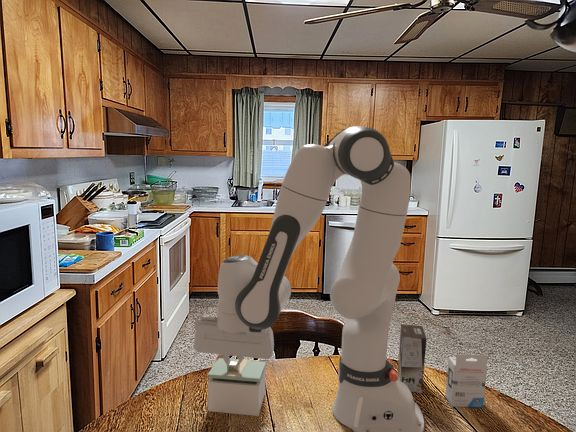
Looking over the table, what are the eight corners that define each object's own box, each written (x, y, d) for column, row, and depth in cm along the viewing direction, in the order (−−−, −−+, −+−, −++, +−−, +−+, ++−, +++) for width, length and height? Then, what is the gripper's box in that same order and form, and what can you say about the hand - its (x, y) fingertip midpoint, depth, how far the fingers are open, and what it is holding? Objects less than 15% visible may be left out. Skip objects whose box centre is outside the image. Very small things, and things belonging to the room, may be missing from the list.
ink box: (475, 396, 110) (480, 346, 108) (483, 407, 106) (489, 355, 103) (444, 395, 110) (448, 345, 108) (451, 407, 106) (456, 354, 103)
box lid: (266, 364, 109) (266, 361, 109) (259, 382, 99) (259, 378, 99) (218, 360, 110) (218, 357, 110) (207, 377, 100) (207, 373, 100)
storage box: (265, 392, 110) (265, 365, 109) (258, 416, 100) (258, 386, 99) (219, 388, 111) (219, 361, 110) (208, 411, 102) (207, 381, 100)
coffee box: (423, 393, 111) (427, 338, 109) (399, 390, 113) (402, 336, 110) (419, 376, 120) (423, 325, 118) (397, 373, 121) (400, 323, 119)
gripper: (190, 320, 98) (189, 372, 101) (272, 327, 96) (270, 380, 99) (198, 310, 105) (198, 359, 107) (276, 317, 103) (273, 367, 105)
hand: (233, 369), depth 103 cm, fingers closed, pressing on box lid
